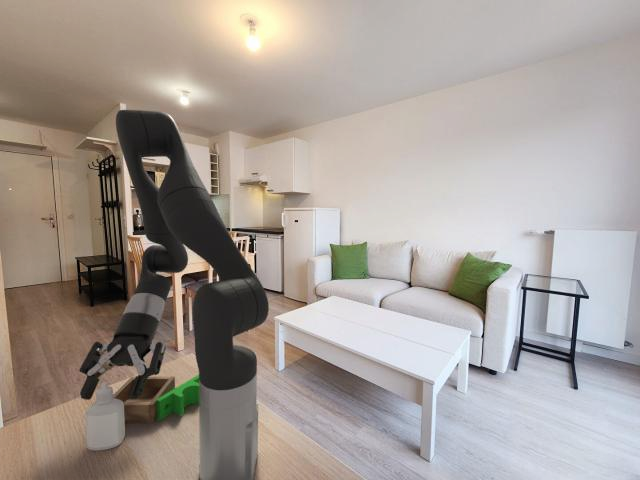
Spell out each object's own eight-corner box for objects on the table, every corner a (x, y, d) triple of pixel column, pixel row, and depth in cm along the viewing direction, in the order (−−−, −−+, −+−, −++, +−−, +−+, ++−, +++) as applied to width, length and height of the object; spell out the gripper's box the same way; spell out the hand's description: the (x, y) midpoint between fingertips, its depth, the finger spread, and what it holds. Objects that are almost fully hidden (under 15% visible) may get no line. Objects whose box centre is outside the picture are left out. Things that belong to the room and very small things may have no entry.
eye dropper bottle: (105, 457, 49) (103, 393, 48) (83, 448, 51) (80, 387, 50) (128, 438, 54) (127, 379, 52) (107, 431, 55) (105, 373, 54)
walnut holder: (174, 391, 68) (174, 376, 67) (153, 422, 58) (153, 404, 57) (132, 392, 67) (131, 376, 66) (102, 423, 57) (102, 405, 57)
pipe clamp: (168, 426, 57) (167, 405, 57) (156, 419, 59) (156, 399, 59) (211, 395, 67) (211, 377, 67) (200, 390, 69) (200, 372, 68)
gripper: (99, 310, 60) (56, 395, 49) (168, 311, 61) (139, 394, 50) (116, 324, 65) (80, 403, 55) (179, 324, 66) (155, 402, 56)
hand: (109, 398), depth 53 cm, fingers open, 8 cm apart
